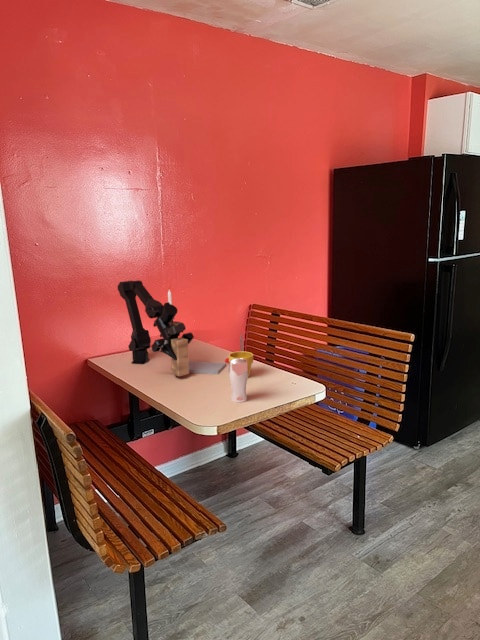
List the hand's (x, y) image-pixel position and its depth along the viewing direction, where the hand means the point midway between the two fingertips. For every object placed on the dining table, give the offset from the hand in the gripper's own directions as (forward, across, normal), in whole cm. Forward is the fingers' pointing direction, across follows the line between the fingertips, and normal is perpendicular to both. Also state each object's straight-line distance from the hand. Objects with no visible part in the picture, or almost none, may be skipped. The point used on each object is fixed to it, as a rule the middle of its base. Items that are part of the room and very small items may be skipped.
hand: (181, 358), depth 201 cm
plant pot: (+18, +19, -5) cm, 26 cm away
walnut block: (+4, 0, +6) cm, 7 cm away
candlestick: (-20, +21, +34) cm, 45 cm away
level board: (+3, +14, +9) cm, 17 cm away
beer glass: (+31, +1, -18) cm, 36 cm away
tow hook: (+5, +32, +8) cm, 33 cm away
